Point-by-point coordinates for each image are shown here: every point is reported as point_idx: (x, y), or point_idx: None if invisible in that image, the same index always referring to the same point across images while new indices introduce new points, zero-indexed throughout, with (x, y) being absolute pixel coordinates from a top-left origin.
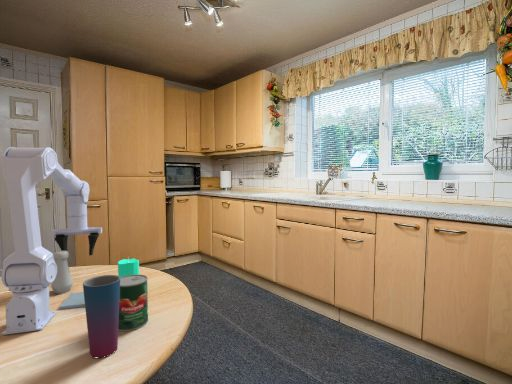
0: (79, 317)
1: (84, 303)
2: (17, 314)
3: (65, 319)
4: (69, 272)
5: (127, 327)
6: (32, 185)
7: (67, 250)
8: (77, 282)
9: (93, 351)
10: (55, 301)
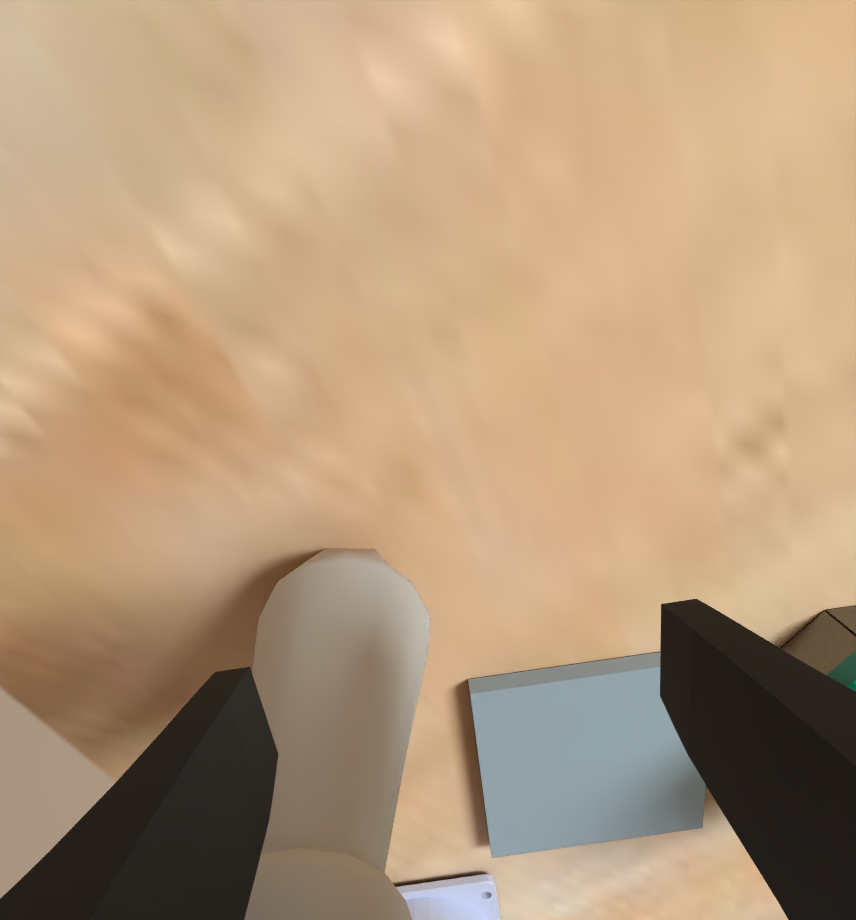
0: (623, 906)
1: (618, 835)
2: None
3: (565, 916)
4: (413, 710)
5: None
6: None
7: (203, 740)
8: (375, 390)
9: None
10: None
